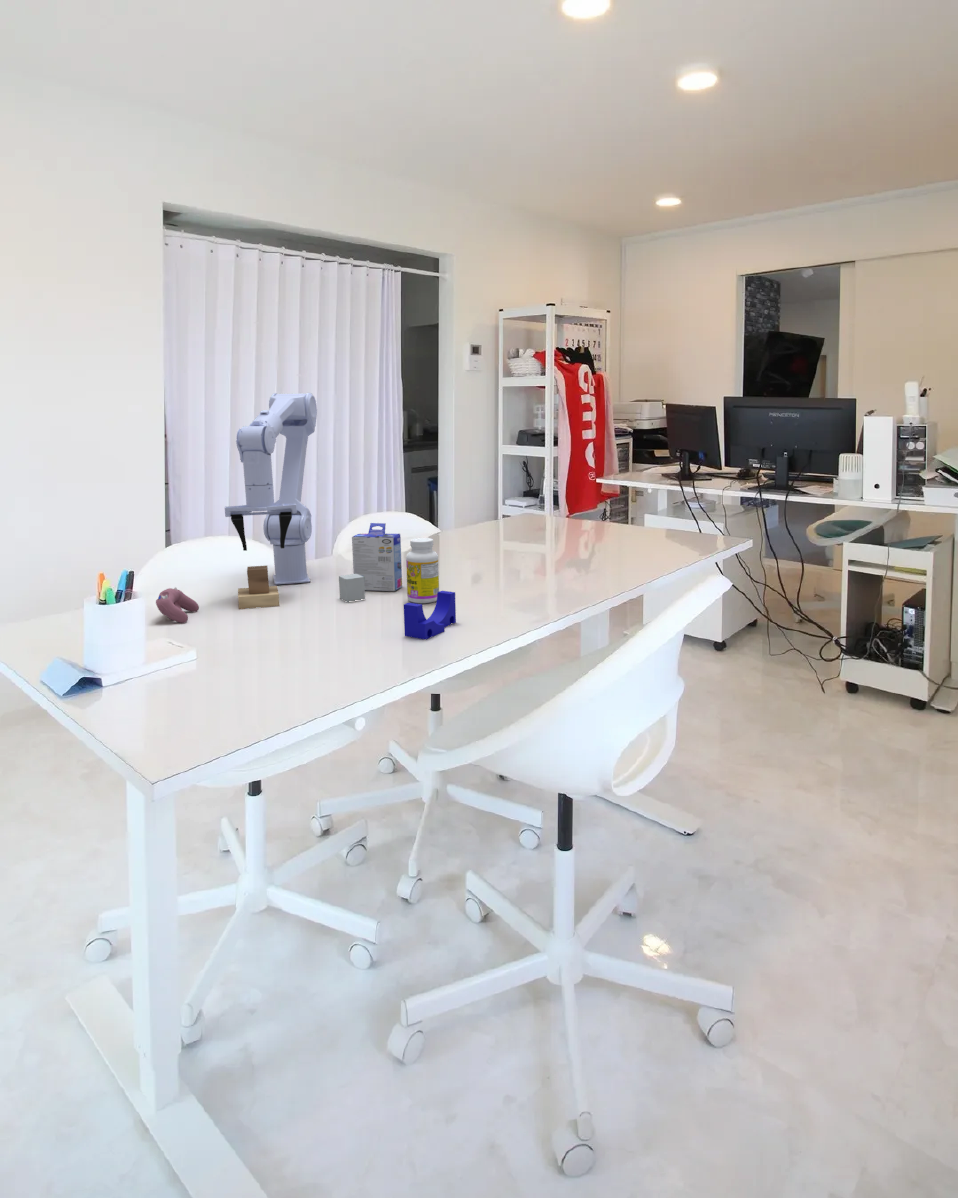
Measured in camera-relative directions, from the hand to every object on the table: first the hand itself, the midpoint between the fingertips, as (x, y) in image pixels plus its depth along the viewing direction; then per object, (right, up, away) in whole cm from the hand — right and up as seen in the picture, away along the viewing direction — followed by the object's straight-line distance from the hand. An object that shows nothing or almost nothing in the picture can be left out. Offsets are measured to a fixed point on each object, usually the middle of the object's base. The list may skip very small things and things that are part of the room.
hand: (263, 548), depth 172 cm
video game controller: (-13, -15, -14) cm, 24 cm away
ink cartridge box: (+23, -9, +8) cm, 26 cm away
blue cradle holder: (+38, -17, -24) cm, 48 cm away
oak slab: (0, -12, -3) cm, 12 cm away
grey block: (+19, -11, -1) cm, 22 cm away
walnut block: (0, -9, -4) cm, 10 cm away
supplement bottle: (+34, -11, -3) cm, 36 cm away
